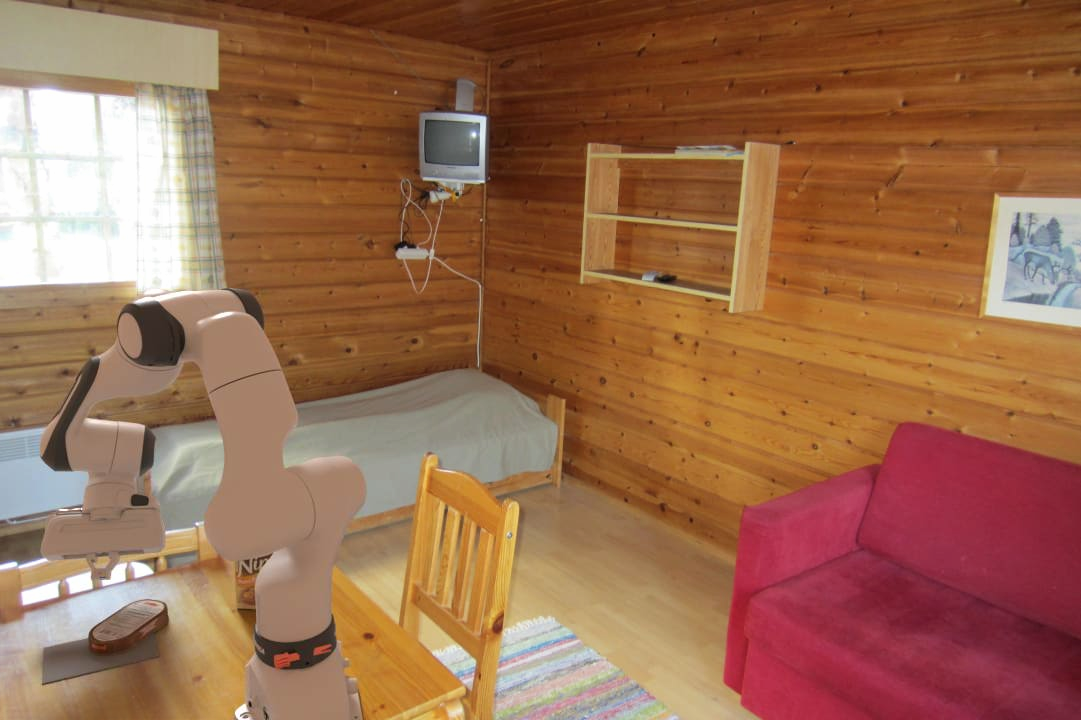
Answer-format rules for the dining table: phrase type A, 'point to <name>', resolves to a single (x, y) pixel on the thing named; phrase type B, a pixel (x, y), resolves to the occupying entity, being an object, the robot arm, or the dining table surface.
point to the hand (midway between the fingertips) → (100, 579)
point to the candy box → (247, 580)
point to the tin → (127, 627)
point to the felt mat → (90, 659)
